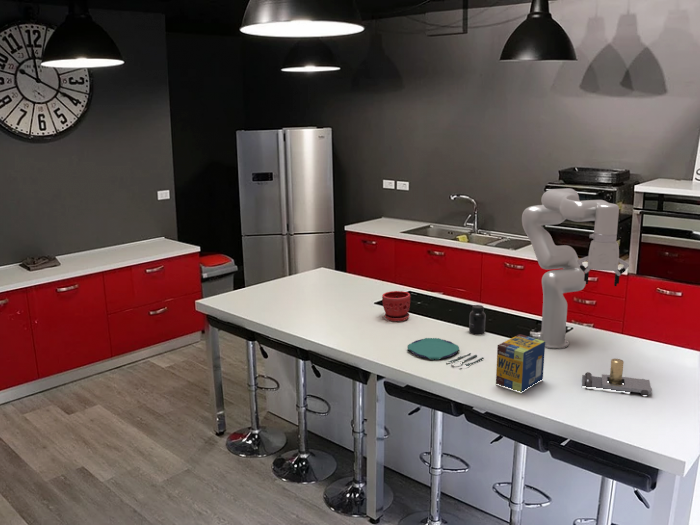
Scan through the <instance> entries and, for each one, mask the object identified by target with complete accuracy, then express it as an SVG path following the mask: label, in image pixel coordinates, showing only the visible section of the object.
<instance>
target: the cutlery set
mask: <svg viewBox="0 0 700 525" xmlns="http://www.w3.org/2000/svg"><path fill="white" fill-rule="evenodd" d="M458 350H459V352H460V346H459V345H458V344H456V343H454V342H451V341H449V340H446V339H442V338H437V337H424V338H421V339H417V340H415V341H413V342H411V343H409V344H407V352H409V351H410V352H411V353H412V354H414V355H415V356H418V357H422V358H426V359H429V360H431V359H432V361H435V360H436V361H439V360H440V359H446V358H450V357H452V356H454V355H456V354H457V353H458ZM470 354H472V353H471V352H470V353H467V354H465V355H462V356H457V358H454V359H451V360H448V362H451V363H455V362H456V361H458V360H457V359H460V358H462V359H463V358H465V357H467V356H470V357H468V358H466V359H465V360H463V361H464V362H463V361H461V362H462V364H461V365H466V366H469V365H470V364H472V365H474V364H473V363H475V362H477V363H479V362H481V361H483V360H482V359H484V360H485V357H480V358H478V359H477V360H474V361H472V362H468V363H466V362H467V361H469V360H472V359H475V358H477V357H478V355H477V354H474V355H472V356H471V355H470ZM434 359H435V360H434ZM455 360H456V361H455ZM460 360H461V359H460ZM480 360H481V361H480ZM452 361H454V362H452ZM478 361H479V362H478ZM463 363H465V364H463ZM445 364H446V365H448V364H447V362H445ZM475 364H476V363H475ZM451 366H452V364H451ZM470 366H471V365H470ZM470 366H469V367H470ZM452 367H453V366H452Z"/></svg>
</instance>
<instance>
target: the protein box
mask: <svg viewBox="0 0 700 525" xmlns="http://www.w3.org/2000/svg"><path fill="white" fill-rule="evenodd" d="M545 349H546V347H545V341H542V340H539V339H538V338H533V336H527V335H524V334H522V333H521V334H520V333H519V334H517V335H515V336H514V337H511V338H509V339H507V340H505V341H503V342H501V343H499V344H497V350H496V351H497V352H496V369H495V370H496V372H495V373H496V375H495V385H496V384H499V385H501V386H505V387H508V388H511V389H513V390H517V391H520V392H522V391H524V390H525V389H527V388H528V387H530V386H532V385H533V384H535V383H537V382H538V381H540V380H542V379H544V366H545Z"/></svg>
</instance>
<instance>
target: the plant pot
mask: <svg viewBox="0 0 700 525" xmlns="http://www.w3.org/2000/svg"><path fill="white" fill-rule="evenodd" d="M381 297H382V298H381V300H382V307H383V311H384V317H385V319H386V320H388V321H390V322H403V321H406V320H407V319H409V317H410V313H409V311H410V307H411V294H410V293H409V292H407V291H401V290H393V291H387V292H385V293H383V294H382V296H381Z"/></svg>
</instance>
